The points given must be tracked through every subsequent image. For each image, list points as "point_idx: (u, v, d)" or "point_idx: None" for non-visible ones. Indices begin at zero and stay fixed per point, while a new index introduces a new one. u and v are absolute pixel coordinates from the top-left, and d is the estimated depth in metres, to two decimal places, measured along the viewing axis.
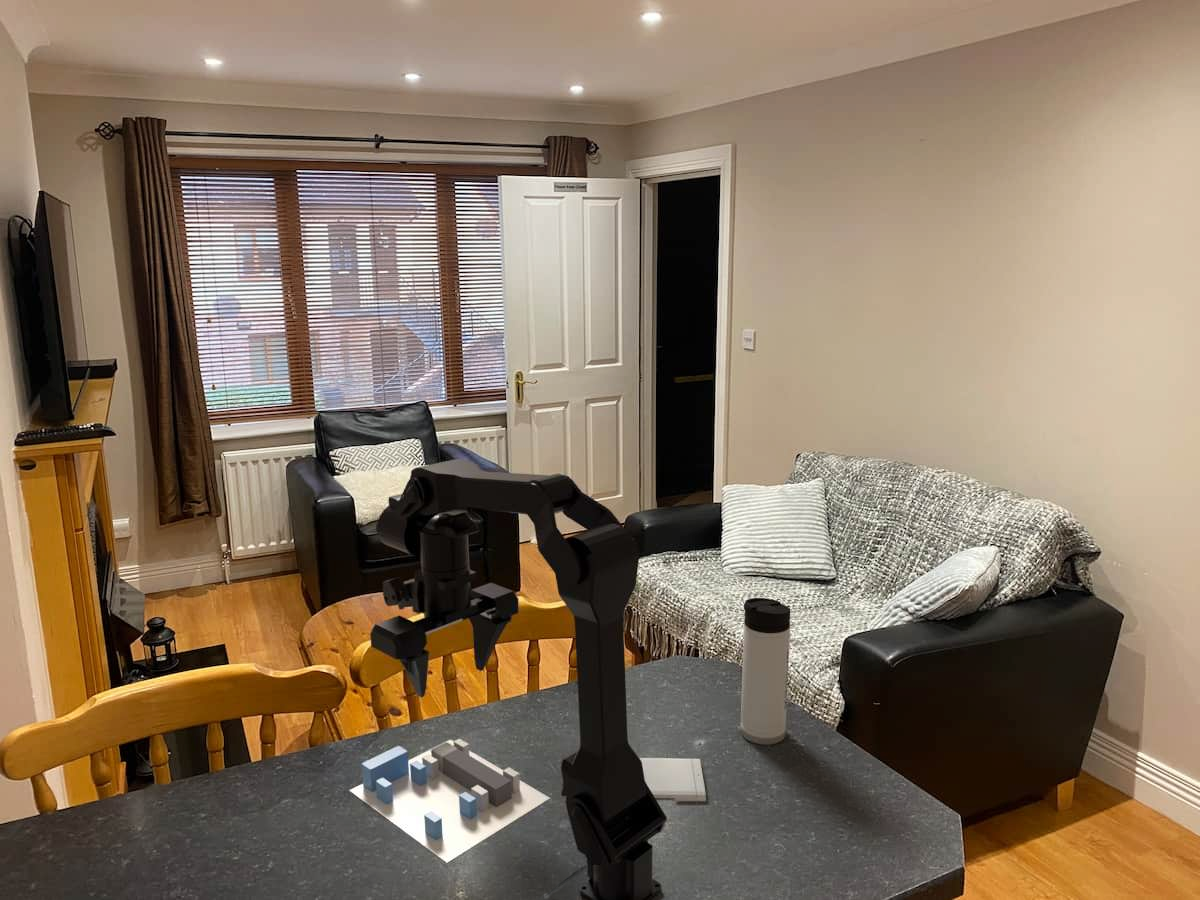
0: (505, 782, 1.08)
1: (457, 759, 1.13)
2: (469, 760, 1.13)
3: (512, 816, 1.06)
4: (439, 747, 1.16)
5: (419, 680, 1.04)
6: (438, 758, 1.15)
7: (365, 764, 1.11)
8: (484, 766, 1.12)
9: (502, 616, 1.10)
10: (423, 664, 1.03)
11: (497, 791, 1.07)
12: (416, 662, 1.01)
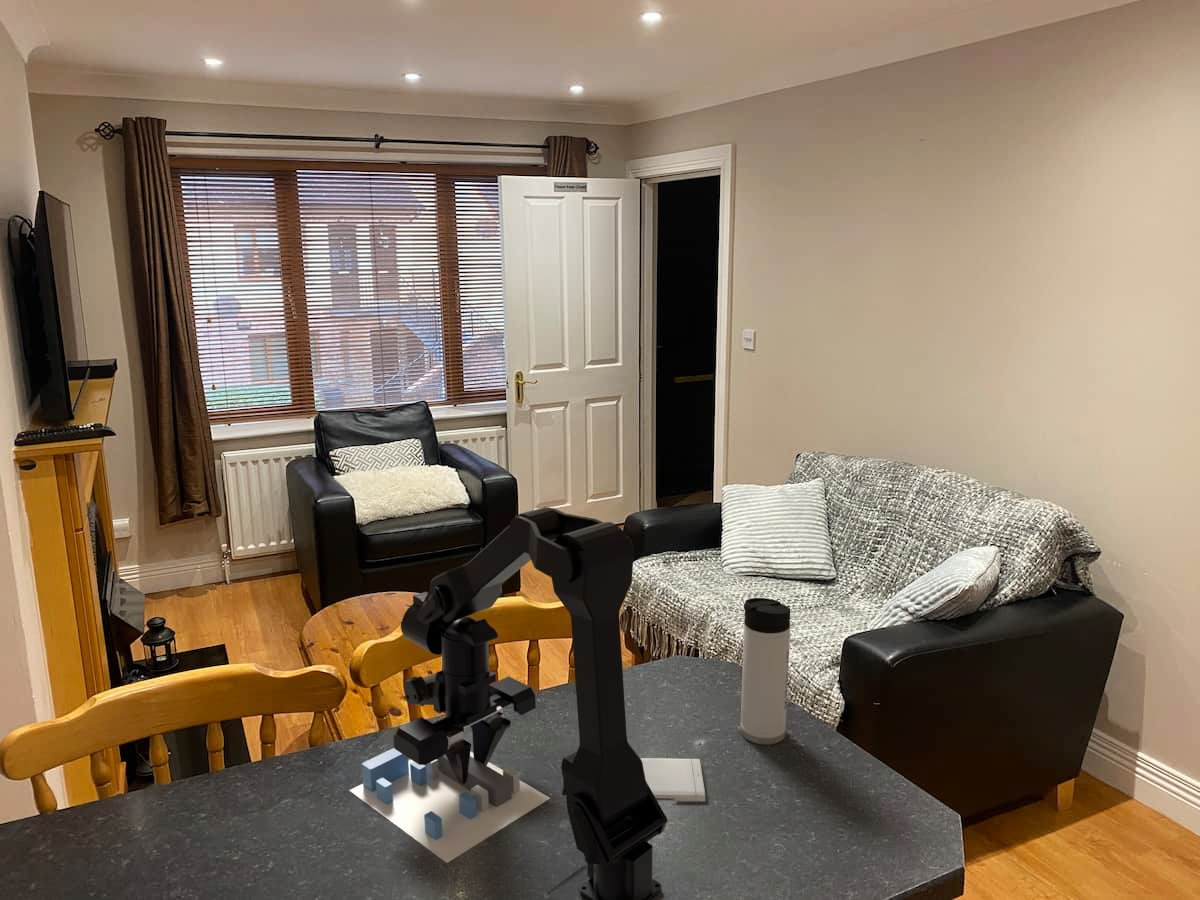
0: (505, 782, 1.08)
1: None
2: (469, 760, 1.13)
3: (512, 816, 1.06)
4: None
5: (461, 769, 1.09)
6: (438, 758, 1.15)
7: (365, 764, 1.11)
8: (484, 766, 1.12)
9: (520, 713, 1.13)
10: (465, 755, 1.08)
11: (497, 791, 1.07)
12: (460, 754, 1.07)
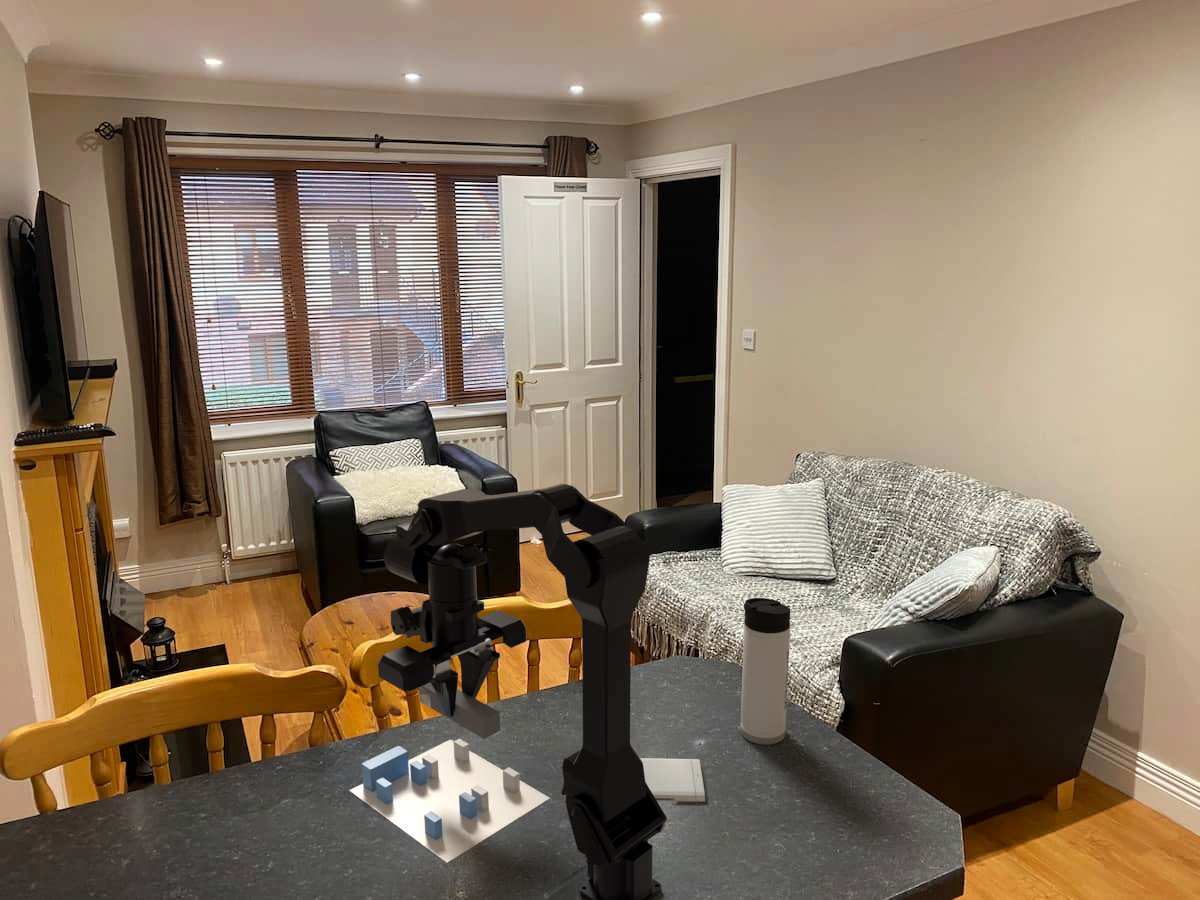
0: (493, 713, 1.05)
1: None
2: (457, 694, 1.10)
3: (512, 816, 1.06)
4: None
5: (448, 701, 1.06)
6: (426, 692, 1.12)
7: (365, 764, 1.11)
8: (472, 699, 1.09)
9: (510, 645, 1.10)
10: (452, 685, 1.05)
11: (485, 722, 1.04)
12: (446, 684, 1.04)
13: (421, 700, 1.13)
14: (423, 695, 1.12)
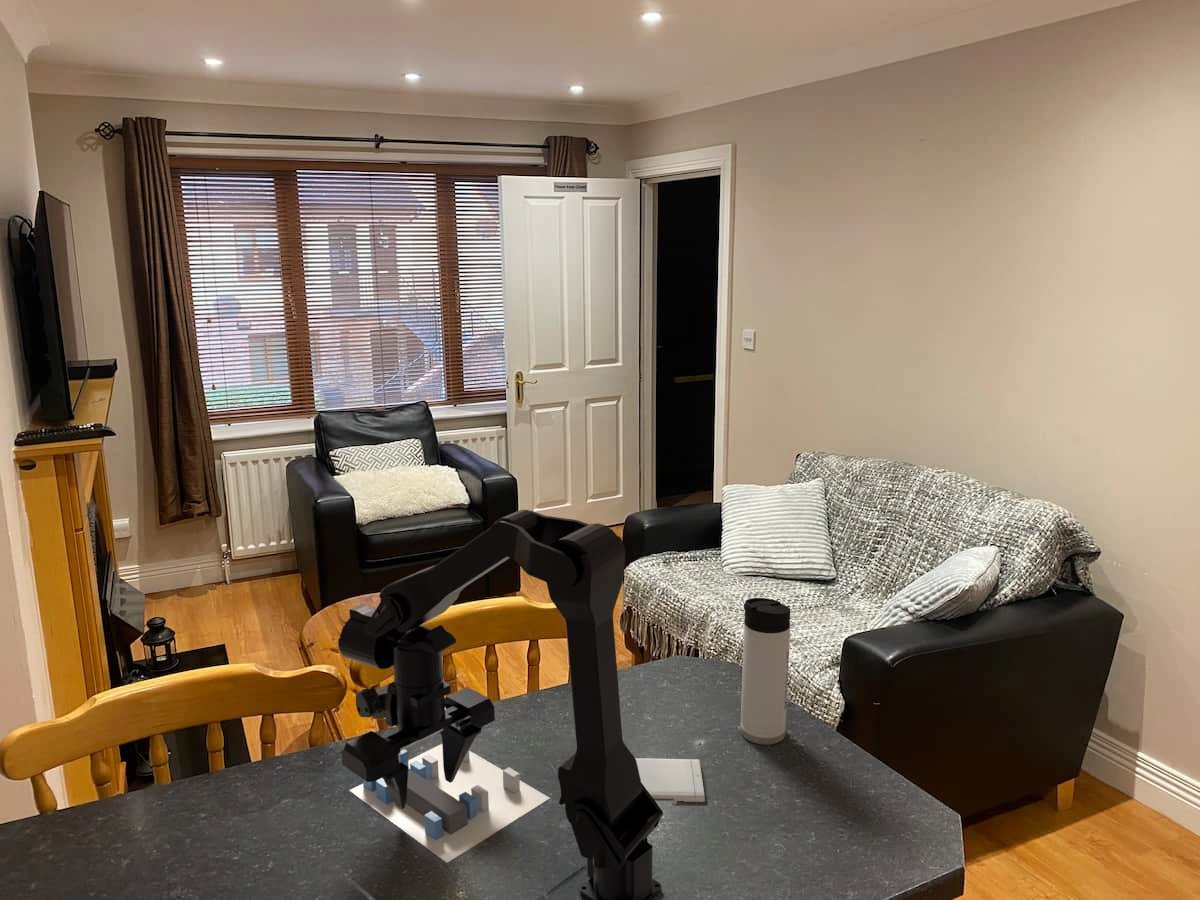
0: (460, 808, 1.03)
1: (411, 782, 1.08)
2: (424, 784, 1.08)
3: (512, 816, 1.06)
4: None
5: (399, 794, 1.02)
6: None
7: None
8: (439, 790, 1.07)
9: (478, 726, 1.08)
10: (403, 779, 1.01)
11: (452, 818, 1.02)
12: (396, 778, 1.00)
13: None
14: None
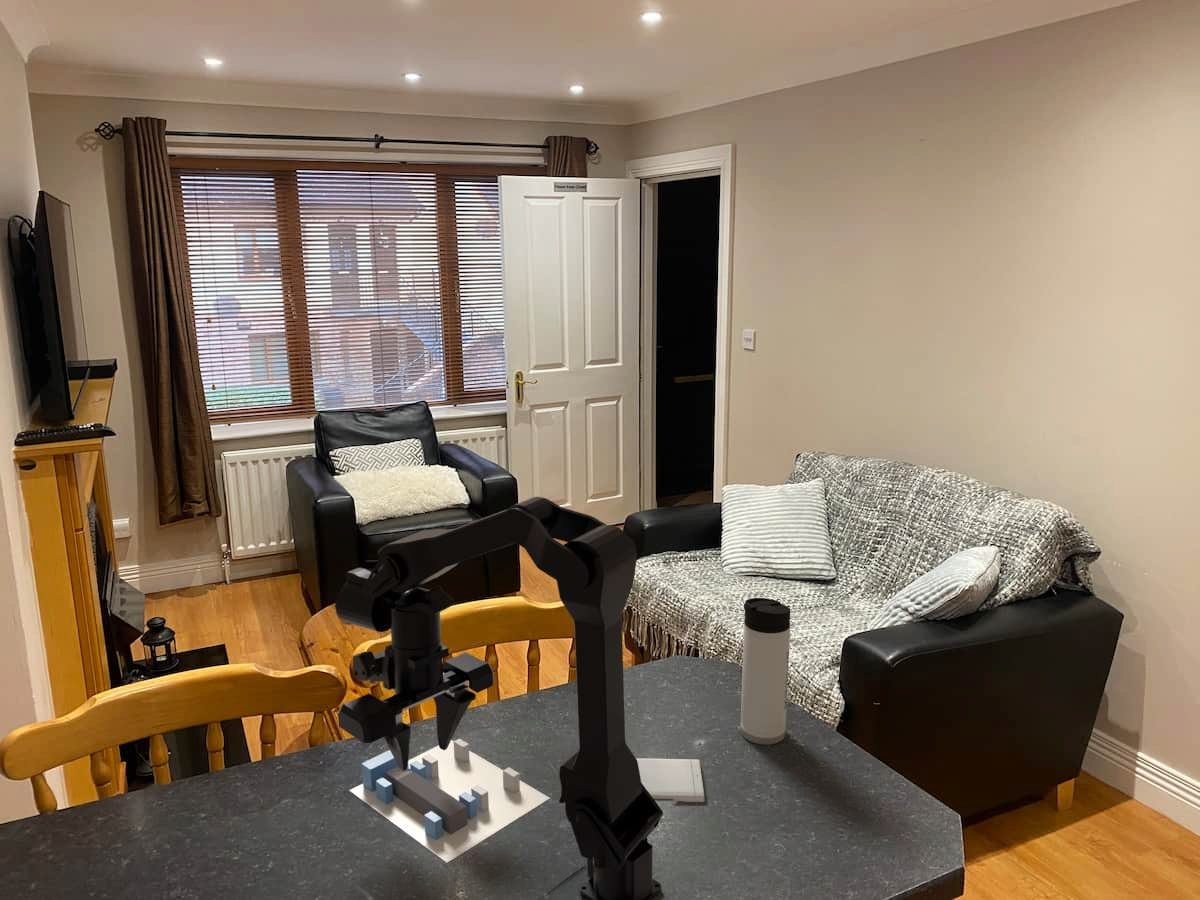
0: (460, 808, 1.03)
1: (411, 782, 1.08)
2: (424, 784, 1.08)
3: (512, 816, 1.06)
4: (394, 769, 1.11)
5: (401, 755, 1.02)
6: (392, 781, 1.10)
7: (365, 764, 1.11)
8: (439, 790, 1.07)
9: (476, 690, 1.07)
10: (405, 739, 1.01)
11: (452, 818, 1.02)
12: (398, 738, 0.99)
13: None
14: None
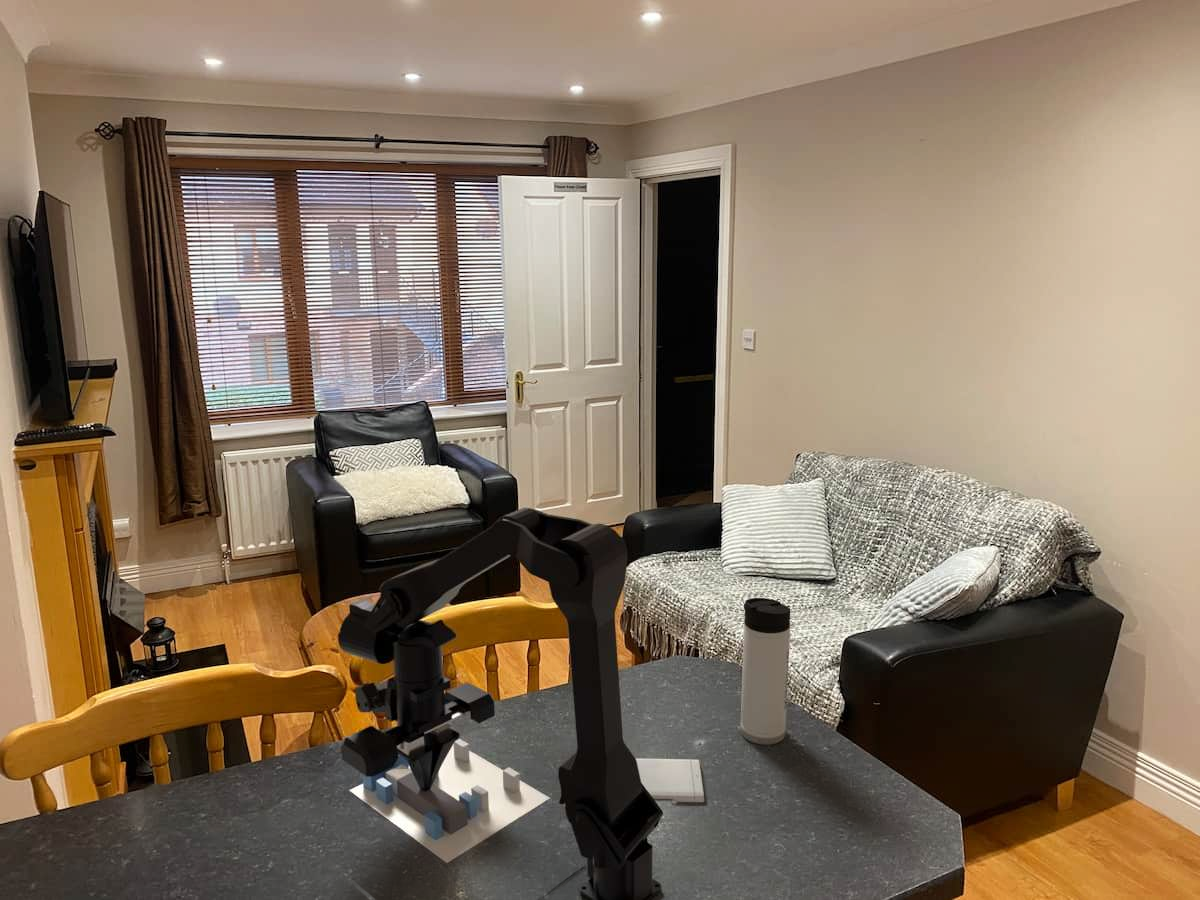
0: (460, 808, 1.03)
1: (411, 782, 1.08)
2: None
3: (512, 816, 1.06)
4: (394, 769, 1.11)
5: (422, 776, 1.05)
6: (392, 781, 1.10)
7: None
8: (439, 790, 1.07)
9: (477, 721, 1.08)
10: (426, 761, 1.03)
11: (452, 818, 1.02)
12: (420, 761, 1.02)
13: None
14: None
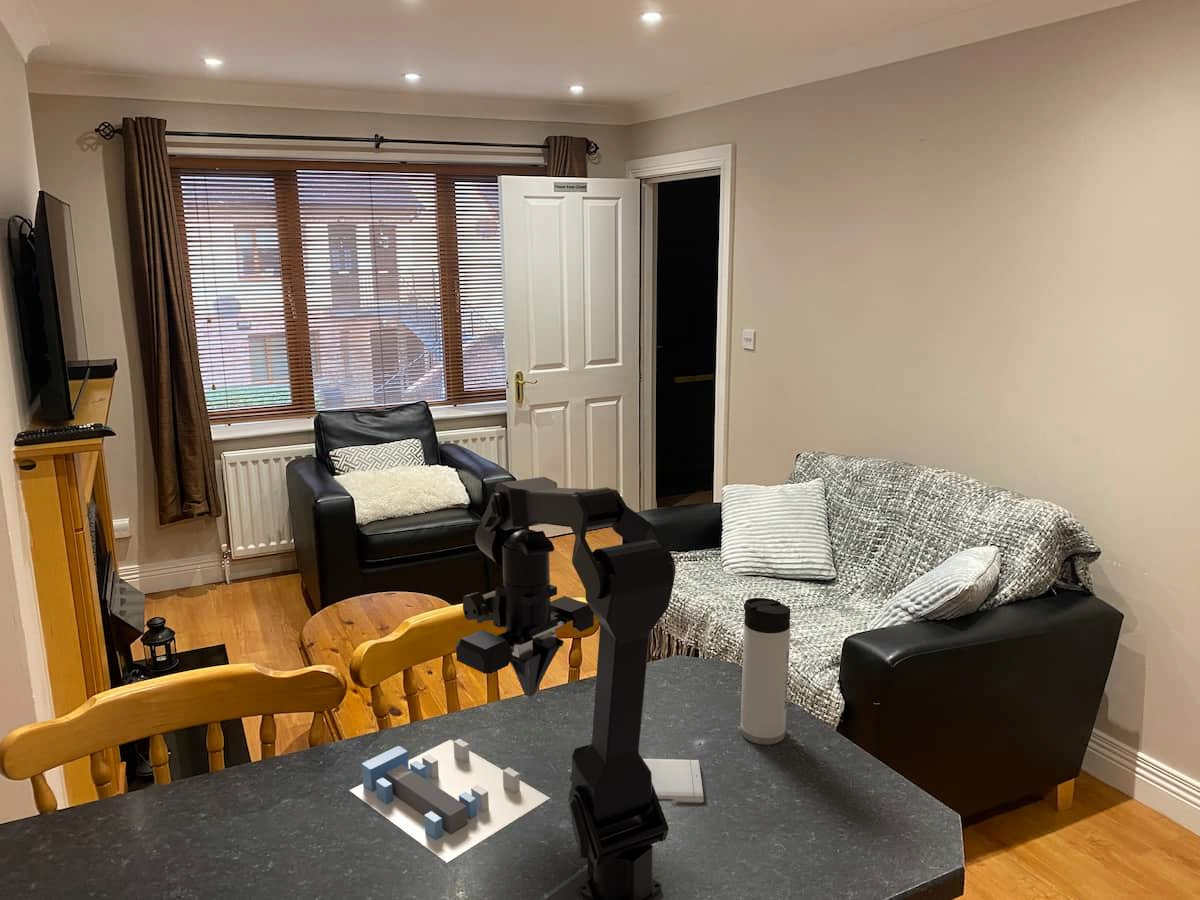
0: (460, 808, 1.03)
1: (411, 782, 1.08)
2: (424, 784, 1.08)
3: (512, 816, 1.06)
4: (394, 769, 1.11)
5: (529, 680, 1.09)
6: (392, 781, 1.10)
7: (365, 764, 1.11)
8: (439, 790, 1.07)
9: (579, 629, 1.12)
10: (535, 665, 1.08)
11: (452, 818, 1.02)
12: (529, 663, 1.07)
13: None
14: None
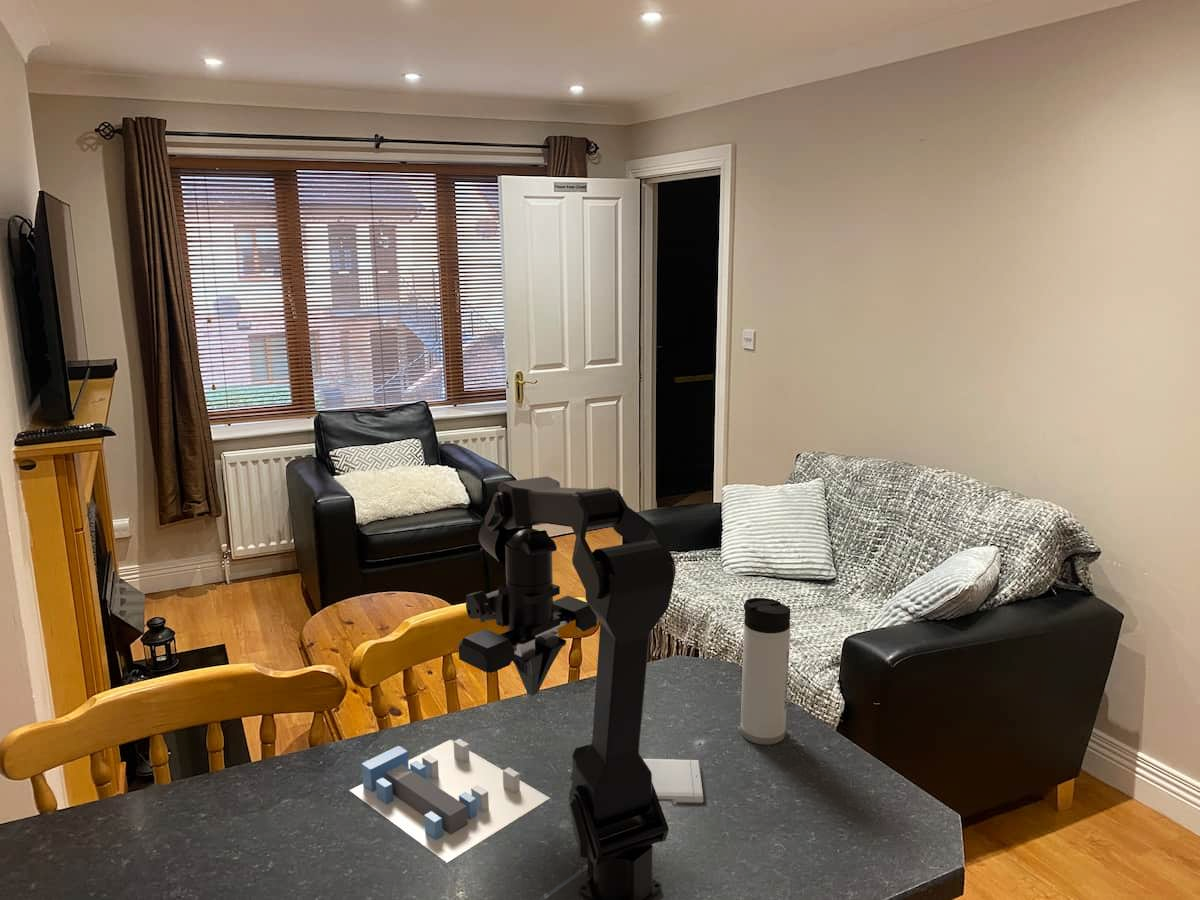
0: (460, 808, 1.03)
1: (411, 782, 1.08)
2: (424, 784, 1.08)
3: (512, 816, 1.06)
4: (394, 769, 1.11)
5: (532, 679, 1.09)
6: (392, 781, 1.10)
7: (365, 764, 1.11)
8: (439, 790, 1.07)
9: (582, 629, 1.12)
10: (537, 664, 1.08)
11: (452, 818, 1.02)
12: (532, 662, 1.07)
13: None
14: None
